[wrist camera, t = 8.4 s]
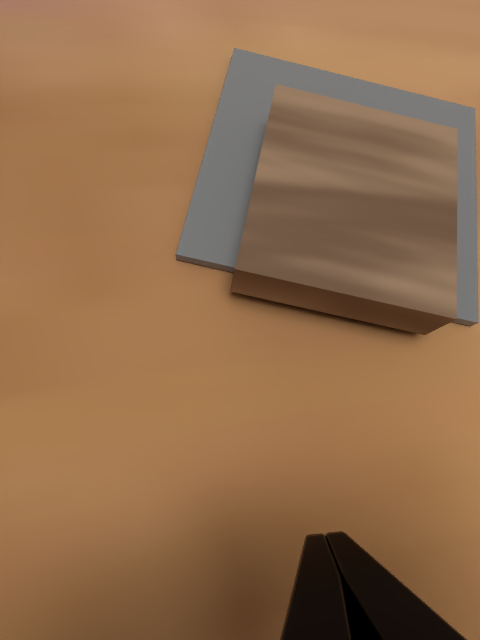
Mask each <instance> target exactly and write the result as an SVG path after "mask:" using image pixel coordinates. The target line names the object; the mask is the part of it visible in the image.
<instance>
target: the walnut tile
mask: <svg viewBox="0 0 480 640" xmlns="http://www.w3.org/2000/svg"><path fill="white" fill-rule="evenodd" d="M457 158H458V129H456V128H452V127H448V126H444V125H440V124H436V123H431V122H427V121H423V120H419V119H415V118H411V117H407V116H403V115H399V114H395V113H391V112H387V111H383V110H379V109H375V108H371V107H367V106H363V105H359V104H355V103H351V102H347V101H343V100H339V99H335V98H331V97H327V96H322V95H318V94H314V93H310V92H306V91H302V90H298V89H294V88H290V87H286V86H282V85H278V84H276V85H275V89H274V94H273V99H272V103H271V108H270V112H269V117H268V121H267V126H266V130H265V135H264V139H263V144H262V148H261V153H260V157H259V162H258V166H257V171H256V176H255V180H254V185H253V189H252V194H251V198H250V203H249V207H248V212H247V216H246V221H245V225H244V230H243V234H242V239H241V243H240V248H239V253H238V257H237V262H236V266H235V271H234V275H233V280H232V284H231V289H230V292H235V293H239V294H244V295H248V296H253V297H257V298H262V299H266V300H271V301H275V302H280V303H284V304H289V305H293V306H297V307H302V308H306V309H311V310H315V311H320V312H324V313H329V314H333V315H338V316H342V317H347V318H351V319H356V320H360V321H365V322H369V323H373V324H378V325H382V326H387V327H391V328H396V329H400V330H405V331H409V332H414V333H418V334H423V335H426V334H428V333H430V332H432V331H434V330H436V329H438V328H440V327H442V326H444V325H446V324H448V323H450V322H452V321H454V320H456V319H457Z"/></svg>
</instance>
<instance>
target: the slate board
mask: <svg viewBox="0 0 480 640" xmlns="http://www.w3.org/2000/svg"><path fill="white" fill-rule="evenodd" d="M276 84H278V85H282V86H286V87H290V88H294V89H298V90H302V91H306V92H310V93H314V94H318V95H322V96H327V97H331V98H335V99H339V100H343V101H347V102H351V103H355V104H359V105H363V106H367V107H371V108H375V109H379V110H383V111H387V112H391V113H395V114H399V115H403V116H407V117H411V118H415V119H419V120H423V121H427V122H431V123H436V124H440V125H444V126H448V127H452V128H456V129H458V158H457V319H456V320H454V321H452V322H454V323H458V324H463V325H467V326H472V325H475V324H477V323H478V265H477V198H476V130H475V108H472V107H468V106H464V105H460V104H456V103H452V102H448V101H444V100H440V99H436V98H432V97H428V96H424V95H420V94H416V93H412V92H408V91H404V90H400V89H396V88H392V87H388V86H384V85H380V84H376V83H372V82H368V81H364V80H360V79H356V78H352V77H348V76H344V75H340V74H336V73H332V72H328V71H324V70H320V69H316V68H312V67H308V66H304V65H300V64H296V63H292V62H288V61H284V60H280V59H276V58H272V57H268V56H264V55H260V54H256V53H252V52H248V51H244V50H240V49H236V48H234V51H233V54H232V58H231V61H230V65H229V68H228V72H227V76H226V79H225V83H224V86H223V90H222V93H221V97H220V100H219V104H218V107H217V111H216V114H215V118H214V122H213V125H212V129H211V132H210V136H209V139H208V143H207V146H206V150H205V153H204V157H203V160H202V164H201V168H200V171H199V175H198V178H197V182H196V185H195V189H194V192H193V196H192V199H191V203H190V206H189V210H188V214H187V217H186V221H185V224H184V228H183V231H182V235H181V238H180V242H179V245H178V249H177V252H176V259H177V260H180V261H184V262H189V263H193V264H198V265H202V266H206V267H211V268H215V269H220V270H224V271H229V272H233V273H234V271H235V266H236V262H237V257H238V253H239V248H240V243H241V239H242V234H243V230H244V225H245V221H246V216H247V212H248V207H249V203H250V198H251V194H252V189H253V185H254V180H255V176H256V171H257V166H258V162H259V157H260V153H261V148H262V144H263V139H264V135H265V130H266V126H267V121H268V117H269V112H270V108H271V103H272V99H273V94H274V89H275V85H276Z"/></svg>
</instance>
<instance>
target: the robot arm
mask: <svg viewBox="0 0 480 640" xmlns="http://www.w3.org/2000/svg"><path fill="white" fill-rule="evenodd" d="M280 640H466V639H465V638H464V637H463V636H462V635H461V634H460V633H458V632H457V631H456V630H455V629H454V628H453V627H452V626H450V625H449V624H448V623H447V622H446V621H445V620H444V619H443V618H441V617H440V616H439V615H438V614H437V613H436V612H435V611H433V610H432V609H431V608H430V607H429V606H428V605H427V604H425V603H424V602H423V601H422V600H421V599H420V598H419V597H417V596H416V595H415V594H414V593H413V592H412V591H411V590H409V589H408V588H407V587H406V586H405V585H404V584H403V583H401V582H400V581H399V580H398V579H397V578H396V577H395V576H394V575H392V574H391V573H390V572H389V571H388V570H387V569H386V568H384V567H383V566H382V565H381V564H380V563H379V562H378V561H376V560H375V559H374V558H373V557H372V556H371V555H370V554H368V553H367V552H366V551H365V550H364V549H363V548H362V547H360V546H359V545H358V544H357V543H356V542H355V541H354V540H353V539H351V538H350V537H349V536H348V535H347V534H346V533H344V532H342V531H340V532H330V533H327V534H326V535H324V534H312V535H307V536H306V538H305V541H304V545H303V549H302V553H301V557H300V561H299V565H298V570H297V574H296V578H295V582H294V586H293V590H292V594H291V598H290V602H289V606H288V610H287V614H286V618H285V622H284V626H283V631H282V635H281V639H280Z"/></svg>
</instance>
